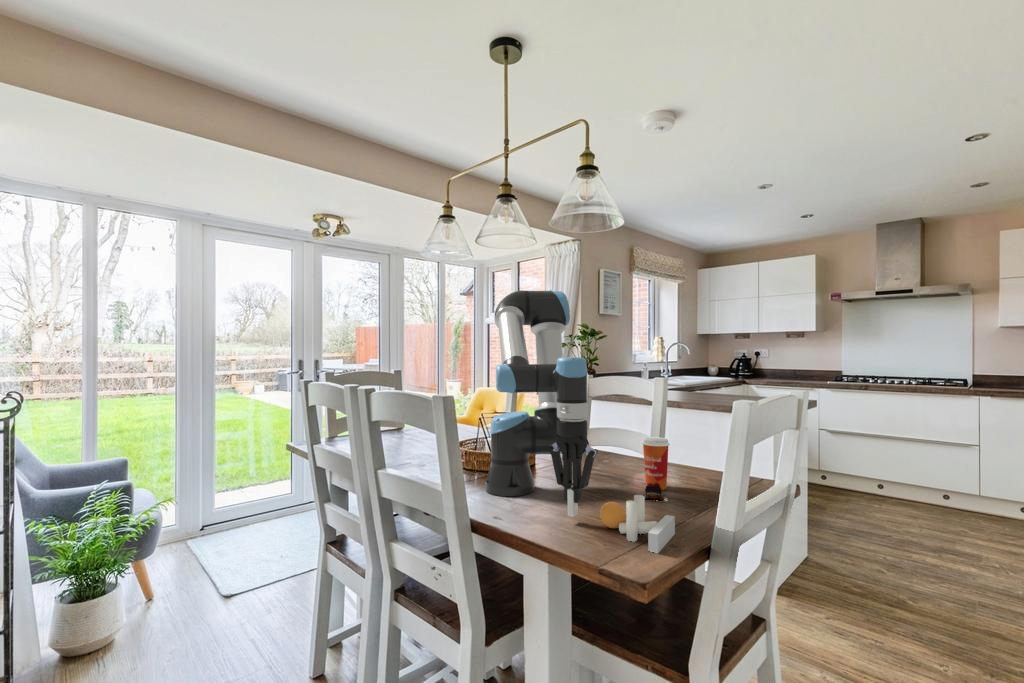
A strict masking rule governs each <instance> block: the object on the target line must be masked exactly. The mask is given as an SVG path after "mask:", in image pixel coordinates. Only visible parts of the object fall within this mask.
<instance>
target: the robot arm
mask: <svg viewBox="0 0 1024 683" xmlns="http://www.w3.org/2000/svg"><path fill="white" fill-rule="evenodd" d="M570 312H571V310H570V304H569V299H568V297H567V296H566V294H565V293H564V291H560V290H552V289H550V290H517V291H514V292H510V293H509V294H507V295H505V297H504V298H502V299H501V301H499V303H498V305H497V306H496V309H495V310H494V323H495V326H496V327H497V329H498V336H499V345H500V346H499V347H500V356H501V357H500V359H501V364H498V365H496V367H495V387H496V388H495V389H496V391H498V392H499V393H509V394H516V393H517V394H518V393H522V394H523V393H537V394H538V405H537V407H536V408H535V409H534V410H533V411H534V412H533V413H534V415H533V416H530V414H529V412H528V411H523V410H522V411H512V412H505V413H500V414H498V415H495V416H493V418H492V419H491V422H490V432H489V433H490V466H489V469H488V473H487V476H486V479H485V483H484V484H485V485H484V487H485V488H484V489H485V492H487V493H488V494H491V495H494V496H501V497H518V496H525V495H529V494H532V493H533V492H534V491H535V480H534V476H533V473H532V471H531V466H530V464H529V459H530V458H529V457H530V455H531V456H532V455H535V456H536V455H537V456H538V455H551V460H552V465H553V469H554V475H555V479H556V483H557V485H558V486H562V487H563V488H564V489H563V491H564V492H563V493H564V501H565V502H566V503H567V517H570V518H574V517H576V516H577V515H578V514H579V503H580V502H581V500H582V490H583V489H585V488H587V487H588V486H589V482H590V480H591V474H592V469H593V466H594V460H595V458H596V456H597V455H598V452H599V451H598V449H596V448H595V449H594V448H593V447H592V446H590V442H589V440H588V421H587V420H586V419H587V418H588V367H587V365H588V364H587V359H586V358H584V357H582V356H581V357H577V356H575V357H574V356H571V357H569V356H567V357H566V356H565V357H564V356H563V342H562V341H563V340H562V333H564V331H565V330H566V326H568V325H569V324H570V318H571V316H570V315H571V314H570ZM524 326H530V332H531V333H532V334H533V335H535V351H536V352H535V354H536V364H535V363H531V364H530V362H529V355H528V350H527V344H526V338H525V337H526V336H525V331H524ZM584 454H585V455H586V456H585V459H584V462H583V463H584V465H583V468H582V460H583V455H584Z"/></svg>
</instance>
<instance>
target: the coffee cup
mask: <svg viewBox="0 0 1024 683" xmlns="http://www.w3.org/2000/svg"><path fill="white" fill-rule="evenodd" d="M641 444H642V447H643V448H642V449H643V451H642V452H643V462H644V463H643V464H644V466H643V467H644V476H645V477H644V478H645V487H646V486H647V483H652V485H654V484H660V487H661V490H662V491H665V490H667V483H668V480H667V479H668V461H669V446H670V442H669V440H668V438H665V437H657V436H649V437H644V438H643V440H642V442H641ZM664 489H665V490H664Z"/></svg>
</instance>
